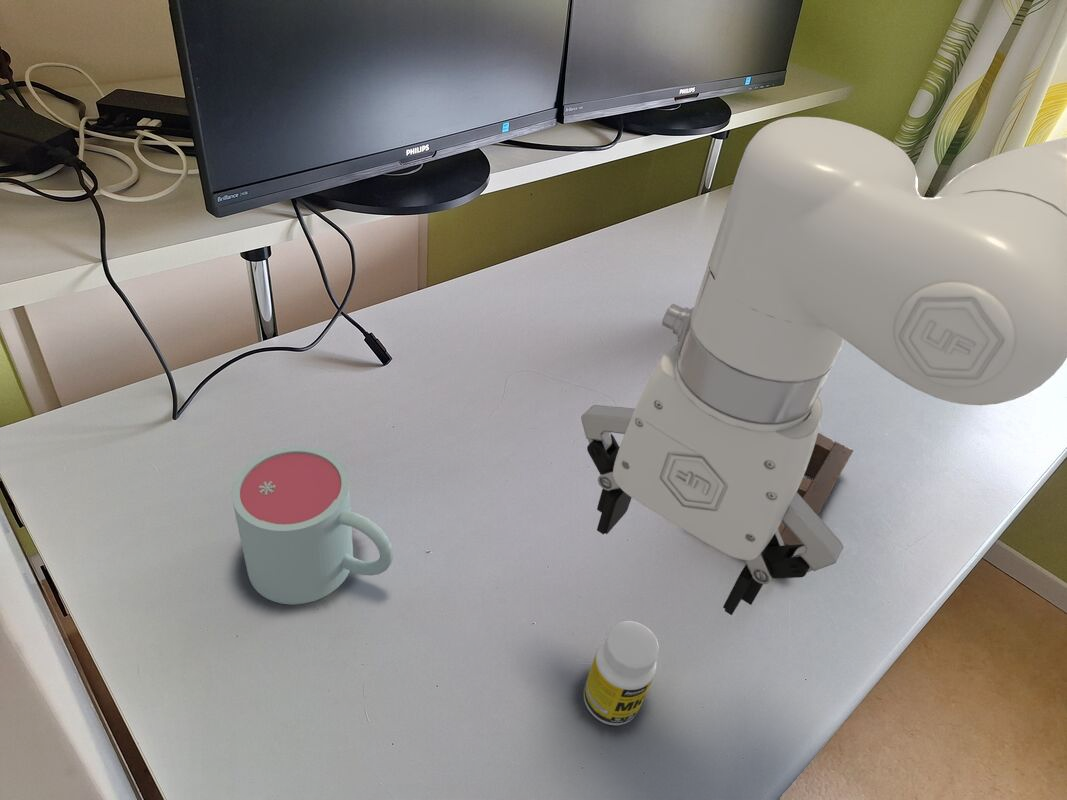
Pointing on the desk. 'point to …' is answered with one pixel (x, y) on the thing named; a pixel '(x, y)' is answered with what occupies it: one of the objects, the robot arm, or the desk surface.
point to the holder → (819, 478)
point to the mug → (300, 525)
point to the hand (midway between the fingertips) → (671, 558)
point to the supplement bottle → (621, 673)
